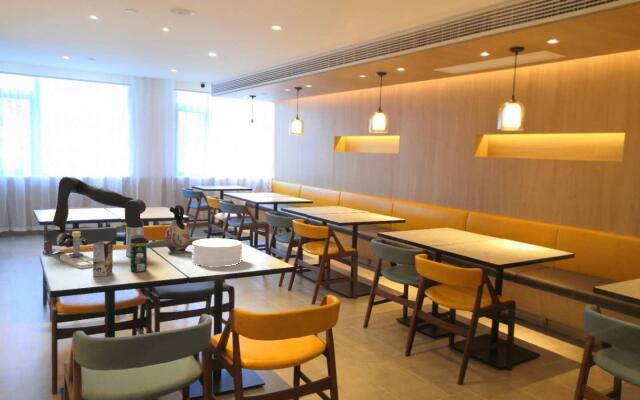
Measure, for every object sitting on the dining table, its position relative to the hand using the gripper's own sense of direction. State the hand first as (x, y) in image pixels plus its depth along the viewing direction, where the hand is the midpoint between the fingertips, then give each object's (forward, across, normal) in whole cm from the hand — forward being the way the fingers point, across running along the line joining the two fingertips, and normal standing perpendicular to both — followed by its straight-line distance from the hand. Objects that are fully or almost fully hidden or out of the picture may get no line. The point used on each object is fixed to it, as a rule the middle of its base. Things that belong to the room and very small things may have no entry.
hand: (77, 244), depth 258 cm
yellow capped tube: (-2, 0, +7) cm, 7 cm away
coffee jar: (+38, +16, +10) cm, 42 cm away
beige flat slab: (+4, 0, +10) cm, 10 cm away
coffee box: (+35, -1, +10) cm, 37 cm away
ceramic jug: (+8, +57, +10) cm, 58 cm away
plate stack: (+45, +60, +10) cm, 76 cm away
